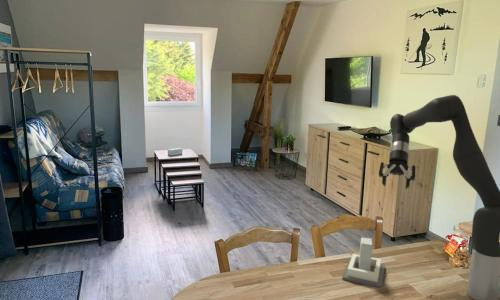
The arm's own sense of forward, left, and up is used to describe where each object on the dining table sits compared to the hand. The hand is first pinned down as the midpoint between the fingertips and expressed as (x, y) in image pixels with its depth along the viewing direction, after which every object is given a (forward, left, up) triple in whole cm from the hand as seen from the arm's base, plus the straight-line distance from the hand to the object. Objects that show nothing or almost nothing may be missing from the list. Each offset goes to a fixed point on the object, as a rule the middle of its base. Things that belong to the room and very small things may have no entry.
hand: (395, 186), depth 158 cm
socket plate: (+8, +20, -31) cm, 37 cm away
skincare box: (+8, +18, -30) cm, 36 cm away
